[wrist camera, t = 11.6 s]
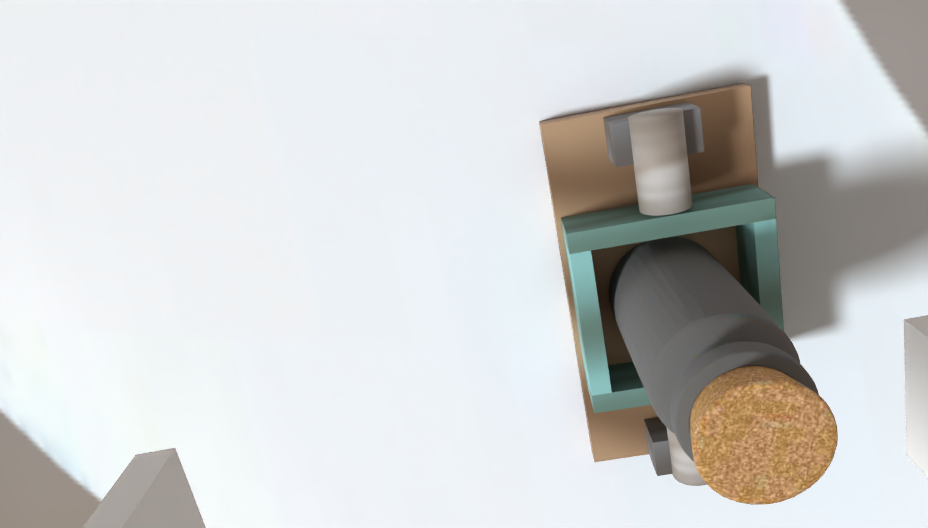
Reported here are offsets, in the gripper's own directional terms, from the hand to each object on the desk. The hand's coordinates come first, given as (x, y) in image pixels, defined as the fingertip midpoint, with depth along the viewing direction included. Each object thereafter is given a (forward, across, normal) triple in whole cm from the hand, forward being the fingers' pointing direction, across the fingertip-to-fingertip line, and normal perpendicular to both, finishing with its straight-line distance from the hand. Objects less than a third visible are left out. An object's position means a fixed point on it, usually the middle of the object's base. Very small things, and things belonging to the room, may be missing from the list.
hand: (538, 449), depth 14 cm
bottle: (+25, +7, -8) cm, 27 cm away
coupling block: (+26, +7, -8) cm, 28 cm away
